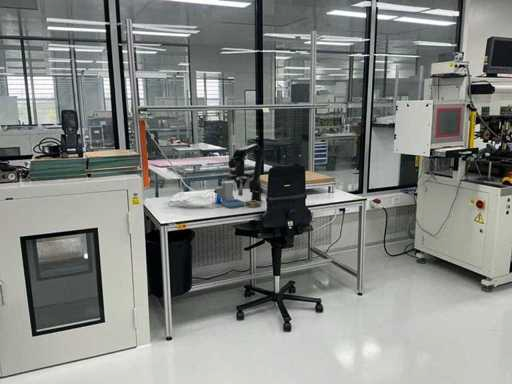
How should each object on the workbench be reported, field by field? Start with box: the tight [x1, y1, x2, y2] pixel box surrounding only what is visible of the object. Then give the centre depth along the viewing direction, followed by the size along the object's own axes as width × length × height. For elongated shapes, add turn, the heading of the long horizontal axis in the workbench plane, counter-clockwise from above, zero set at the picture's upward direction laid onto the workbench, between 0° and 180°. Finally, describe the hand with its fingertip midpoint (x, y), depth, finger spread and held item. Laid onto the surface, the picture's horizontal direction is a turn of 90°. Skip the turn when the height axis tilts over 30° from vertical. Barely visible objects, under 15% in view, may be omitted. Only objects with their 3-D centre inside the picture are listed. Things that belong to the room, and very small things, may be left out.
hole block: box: [244, 200, 262, 209], centre depth 301 cm, size 8×8×3 cm
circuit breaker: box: [213, 180, 235, 201], centre depth 312 cm, size 8×14×15 cm, turn 104°
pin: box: [237, 179, 244, 197], centre depth 299 cm, size 4×4×11 cm
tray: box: [220, 198, 245, 209], centre depth 302 cm, size 13×11×3 cm
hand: (240, 188), depth 299 cm, fingers closed on pin, 3 cm apart
